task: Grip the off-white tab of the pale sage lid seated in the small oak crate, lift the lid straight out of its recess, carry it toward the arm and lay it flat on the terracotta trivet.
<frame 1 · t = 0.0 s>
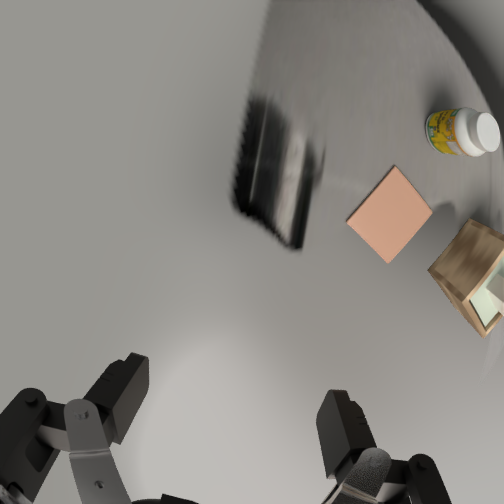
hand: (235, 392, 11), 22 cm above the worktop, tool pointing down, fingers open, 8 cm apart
supplement bottle: (439, 132, 25), on the worktop
trivet: (391, 216, 30), on the worktop
lid: (492, 287, 24), point 7 cm above the worktop, touching crate
crate: (463, 265, 31), on the worktop
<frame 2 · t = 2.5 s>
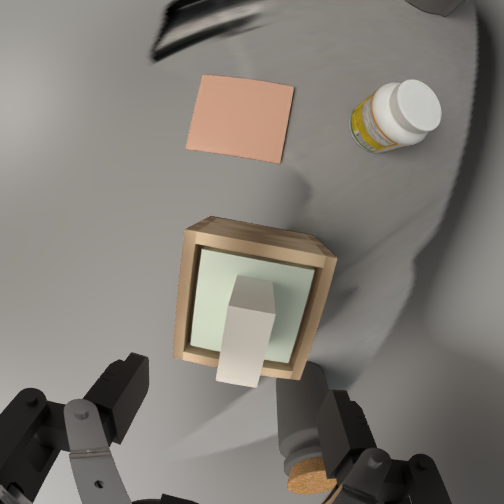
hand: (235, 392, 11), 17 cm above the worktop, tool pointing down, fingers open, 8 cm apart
supplement bottle: (371, 128, 24), on the worktop
trivet: (240, 116, 24), on the worktop
bottle: (300, 378, 30), on the worktop
lid: (248, 306, 20), point 7 cm above the worktop, touching crate
crate: (252, 275, 27), on the worktop
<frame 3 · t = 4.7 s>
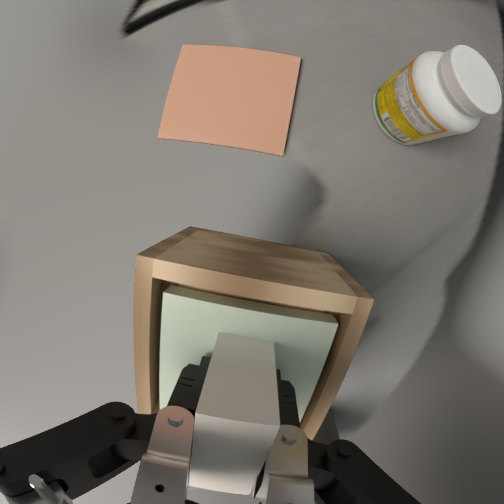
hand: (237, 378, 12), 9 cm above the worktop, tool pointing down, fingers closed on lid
supplement bottle: (400, 114, 17), on the worktop
trivet: (229, 94, 17), on the worktop
bottle: (304, 420, 23), on the worktop
lid: (238, 368, 13), point 8 cm above the worktop, touching gripper
crate: (246, 304, 20), on the worktop
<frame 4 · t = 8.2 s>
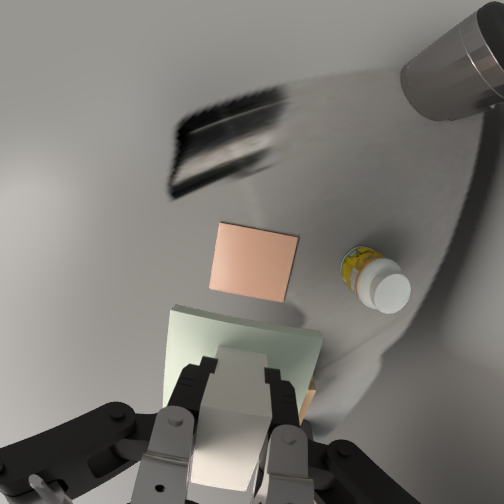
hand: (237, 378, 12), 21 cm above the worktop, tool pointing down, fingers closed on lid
supplement bottle: (359, 266, 32), on the worktop
trivet: (252, 263, 32), on the worktop
lid: (235, 380, 14), point 19 cm above the worktop, tilted 7°, touching gripper
crate: (260, 371, 35), on the worktop
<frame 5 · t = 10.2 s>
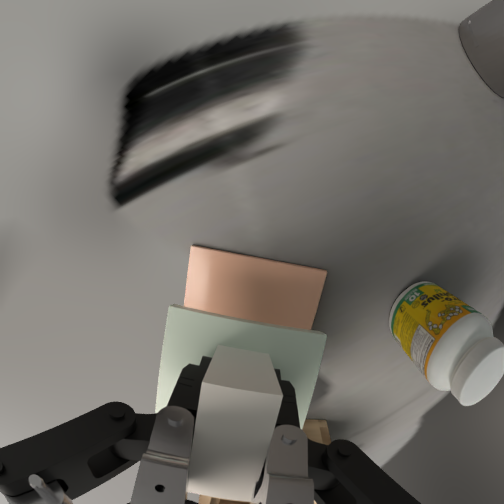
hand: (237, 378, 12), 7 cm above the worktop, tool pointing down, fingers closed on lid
supplement bottle: (414, 310, 19), on the worktop
trivet: (248, 312, 19), on the worktop
lid: (234, 388, 13), point 6 cm above the worktop, tilted 19°, touching gripper
crate: (261, 446, 22), on the worktop
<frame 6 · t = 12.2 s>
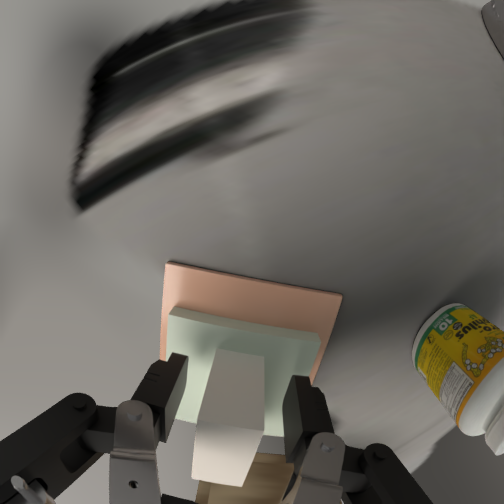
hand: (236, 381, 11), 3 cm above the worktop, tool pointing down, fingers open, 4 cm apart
supplement bottle: (440, 336, 14), on the worktop
trivet: (241, 346, 14), on the worktop
lid: (234, 377, 15), on the worktop, touching trivet
crate: (258, 480, 18), on the worktop
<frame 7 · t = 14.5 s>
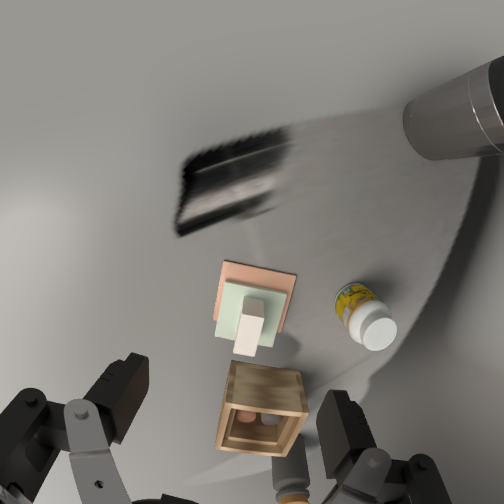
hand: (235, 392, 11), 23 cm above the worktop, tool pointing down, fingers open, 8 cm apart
supplement bottle: (352, 300, 35), on the worktop
trivet: (253, 297, 34), on the worktop
bottle: (287, 440, 41), on the worktop
lid: (249, 313, 34), on the worktop, touching trivet
crate: (258, 391, 38), on the worktop
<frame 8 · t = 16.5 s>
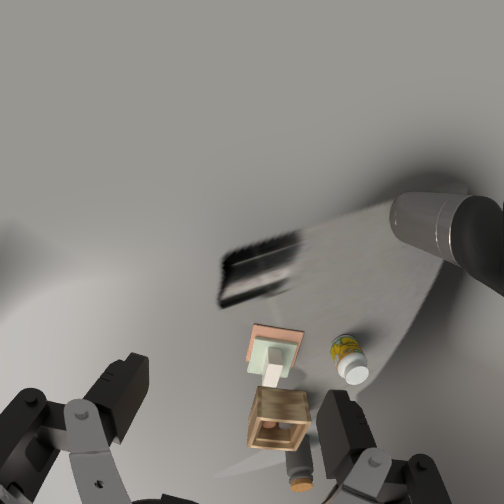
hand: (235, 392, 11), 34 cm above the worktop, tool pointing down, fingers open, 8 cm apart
supplement bottle: (342, 345, 48), on the worktop
trivet: (274, 346, 48), on the worktop
bottle: (296, 439, 54), on the worktop
lid: (271, 356, 48), on the worktop, touching trivet
crate: (276, 405, 51), on the worktop
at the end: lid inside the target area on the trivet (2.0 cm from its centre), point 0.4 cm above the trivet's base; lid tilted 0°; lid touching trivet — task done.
